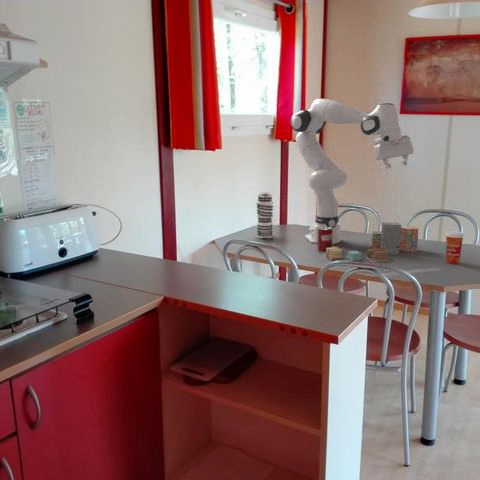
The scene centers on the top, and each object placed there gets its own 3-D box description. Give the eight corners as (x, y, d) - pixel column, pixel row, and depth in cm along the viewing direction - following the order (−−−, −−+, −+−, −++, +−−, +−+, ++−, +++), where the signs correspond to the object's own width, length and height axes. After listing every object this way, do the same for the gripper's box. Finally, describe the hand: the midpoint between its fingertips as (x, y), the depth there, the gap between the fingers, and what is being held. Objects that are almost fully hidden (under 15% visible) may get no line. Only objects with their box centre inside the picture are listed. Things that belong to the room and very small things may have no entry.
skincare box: (382, 256, 256) (383, 224, 253) (379, 252, 263) (380, 221, 260) (400, 256, 256) (402, 224, 252) (396, 253, 263) (398, 221, 259)
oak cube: (325, 258, 255) (326, 248, 254) (336, 257, 257) (336, 247, 256) (330, 261, 250) (331, 250, 249) (341, 260, 252) (341, 249, 251)
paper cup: (440, 262, 246) (442, 232, 242) (447, 259, 251) (450, 230, 248) (457, 265, 240) (459, 235, 237) (464, 262, 246) (467, 232, 242)
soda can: (314, 250, 269) (315, 227, 267) (327, 249, 272) (328, 226, 269) (321, 253, 263) (322, 230, 260) (334, 252, 265) (335, 228, 262)
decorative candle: (256, 235, 304) (256, 191, 298) (272, 235, 304) (273, 191, 298) (256, 238, 295) (256, 194, 290) (273, 238, 295) (273, 194, 289)
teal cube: (347, 260, 251) (347, 251, 249) (355, 259, 252) (356, 250, 251) (351, 263, 246) (352, 253, 245) (360, 262, 248) (361, 253, 247)
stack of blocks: (372, 251, 266) (374, 227, 263) (371, 248, 272) (372, 225, 269) (416, 252, 264) (418, 228, 261) (414, 249, 270) (416, 225, 267)
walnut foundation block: (366, 257, 251) (367, 249, 250) (380, 256, 253) (380, 248, 252) (374, 261, 245) (375, 252, 244) (388, 260, 247) (388, 251, 246)
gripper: (404, 136, 255) (409, 164, 255) (370, 141, 247) (375, 170, 247) (413, 133, 249) (418, 162, 249) (378, 138, 241) (383, 168, 242)
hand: (396, 166), depth 248 cm, fingers open, 8 cm apart
